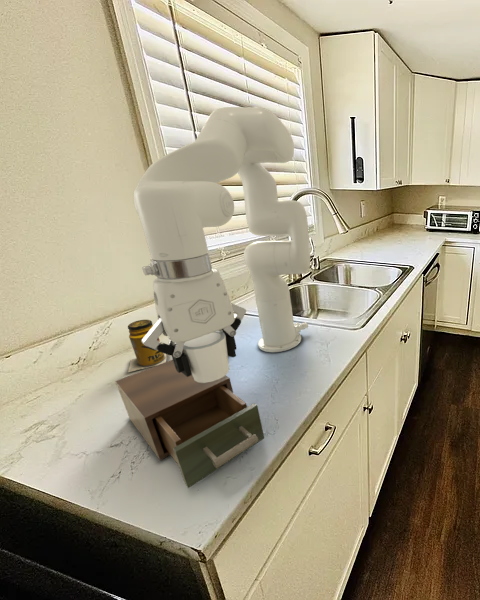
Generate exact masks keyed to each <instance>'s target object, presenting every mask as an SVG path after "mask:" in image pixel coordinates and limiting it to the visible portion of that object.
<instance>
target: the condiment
mask: <svg viewBox="0 0 480 600" xmlns="http://www.w3.org/2000/svg"><path fill="white" fill-rule="evenodd" d="M153 325H154V324H153V321H152V320H151V319H139V320H135V321H133V322H130V323H129V324H128V325H127V329H128V333H129V335H128V339H129V340H130V344H131V346H132V349H133V352H134V355H135V358H132V359H129V366H128V370H127V373H131V372H135V371H136V372H137V371H139V370H145V369H149V368H152V367H154V366H157V365H159V364H162V363H165V362H167V354H165V353H162V352H159V351H157V350H155V349H152V348H150V347H147V346H145V345H144V344H143V343H142V342H141V340H142V339H143V338H144V336H145V335H146V334H147V333H148V332H149V330H150V329H151V328H152V327H153ZM157 341H159V342H161V340H160V337H159V338H158V339H157Z"/></svg>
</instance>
